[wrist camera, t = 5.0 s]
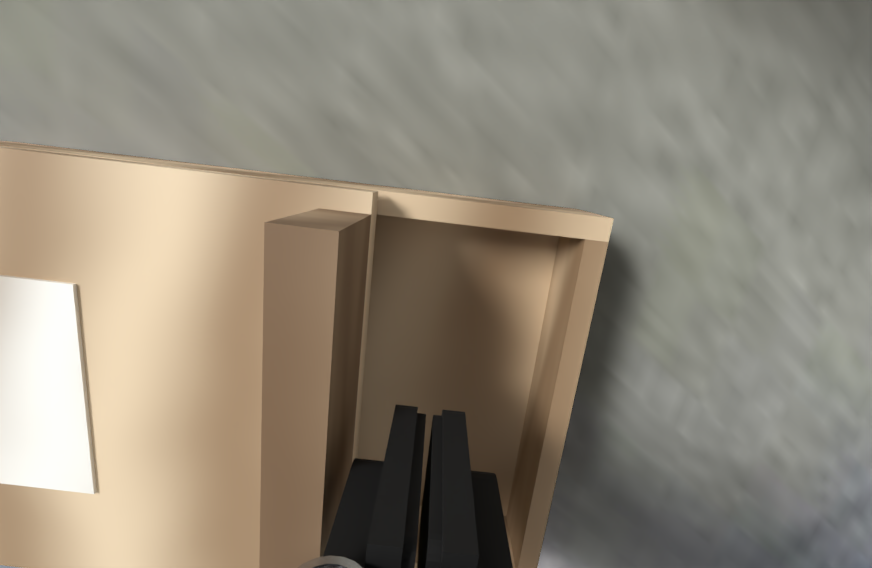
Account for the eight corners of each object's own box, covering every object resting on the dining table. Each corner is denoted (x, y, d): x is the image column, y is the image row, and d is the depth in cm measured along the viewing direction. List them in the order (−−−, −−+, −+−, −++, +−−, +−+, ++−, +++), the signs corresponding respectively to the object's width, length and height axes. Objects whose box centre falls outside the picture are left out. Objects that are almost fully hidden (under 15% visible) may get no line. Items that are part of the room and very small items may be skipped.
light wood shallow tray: (578, 209, 14) (613, 218, 11) (516, 518, 17) (532, 591, 14) (16, 142, 13) (-102, 133, 11) (56, 465, 16) (-27, 527, 14)
